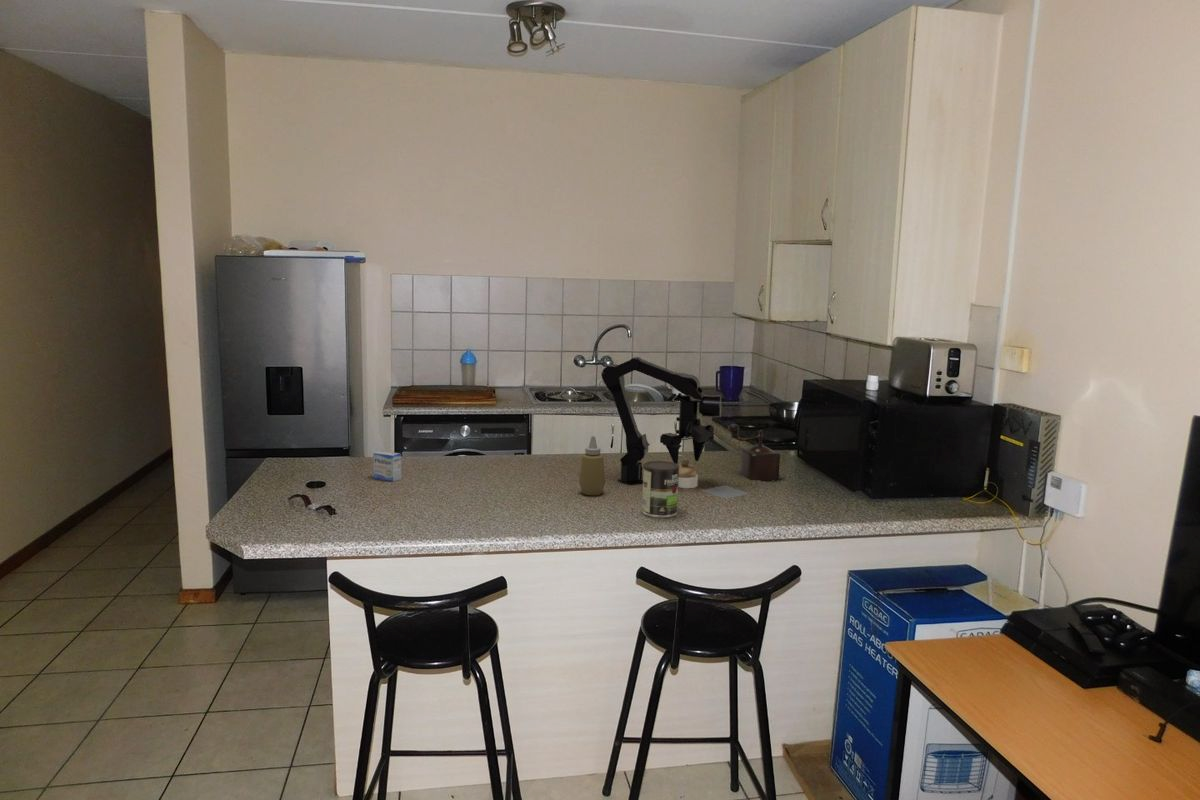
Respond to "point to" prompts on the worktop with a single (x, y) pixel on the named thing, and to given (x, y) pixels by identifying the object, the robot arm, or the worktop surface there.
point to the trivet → (725, 492)
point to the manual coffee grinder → (757, 458)
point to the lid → (686, 469)
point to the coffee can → (660, 489)
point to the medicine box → (387, 466)
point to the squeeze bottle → (592, 470)
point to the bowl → (688, 482)
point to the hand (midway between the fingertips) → (686, 462)
